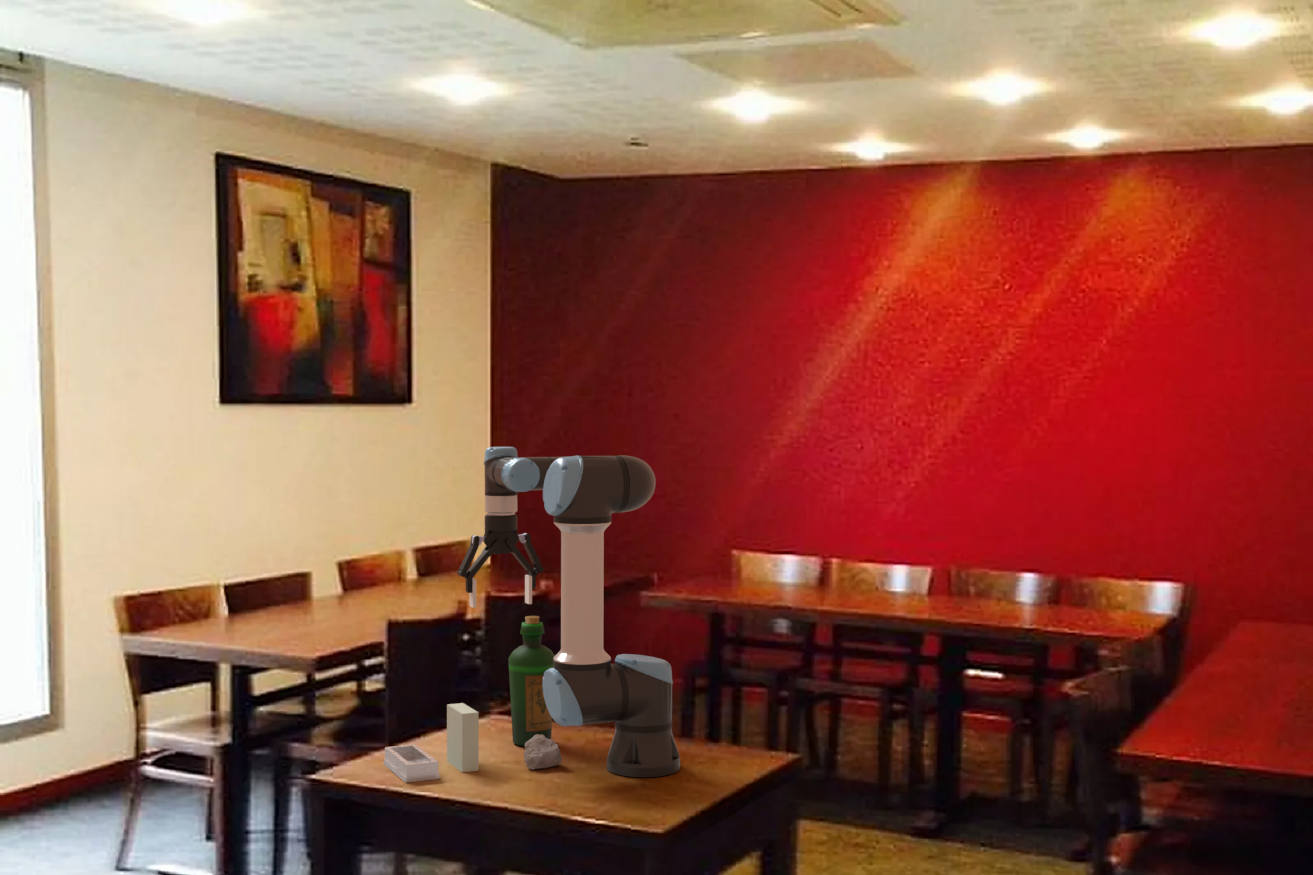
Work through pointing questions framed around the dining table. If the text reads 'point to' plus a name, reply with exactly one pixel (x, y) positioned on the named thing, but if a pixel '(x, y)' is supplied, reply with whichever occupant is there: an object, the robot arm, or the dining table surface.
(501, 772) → the dining table surface
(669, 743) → the robot arm
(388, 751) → the shallow open box
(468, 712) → the rectangular block
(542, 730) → the bottle
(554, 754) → the stone
